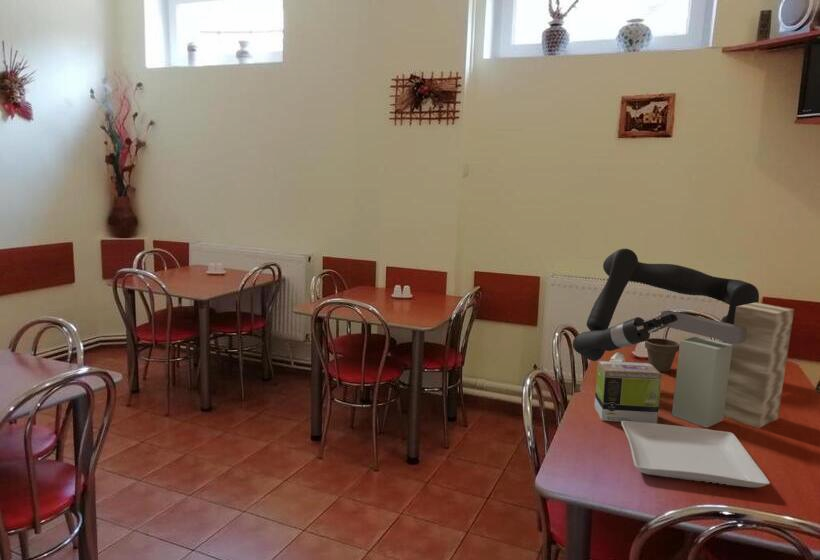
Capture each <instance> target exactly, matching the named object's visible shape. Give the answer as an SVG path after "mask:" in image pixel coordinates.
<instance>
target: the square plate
mask: <svg viewBox="0 0 820 560" xmlns="http://www.w3.org/2000/svg"><path fill="white" fill-rule="evenodd" d="M620 424H621V427H622V429H623V431H624V433H625V436H626V438H627V441H628V444H629V447H630V453H631V457H632V462H633V465H634V467H635V468H636V469H637V471H639V472H640V473H643V474H645V475H649V476H657V477H664V478H670V477H671V478H672V479H678V478H679V479H678V480H687V481H693V480H694V482H695V481H696V482H701V481H705V482H704V483H709V482H712V483H711V484H716V483H719V484H718V485H723V484H726V485H725V486H733V487H734V486H735V487H742V488H744V487H745V488H762V487H766V486H768V485H770V484H771V481H769V479H768V478H767V476H766V475H765V473H764V472H763V471H762V469H761V468H760V467H759V465H758V463H756V462H755V460H754V459H753V457H752V456H751V455H750V454H749V452H748V451H747V450H746V448H745V447H744V446H743V444H742V443H741V442H740V440H739V439H738V438H737V436H736V435H735V434H734V433H733V432H730V431H723V430H715V429H714V430H713V429H708V428H706V429H705V428H699V427H691V426H681V425H674V424H666V423H665V424H663V423H657V424H655V423H644V422H632V421H621V422H620Z"/></svg>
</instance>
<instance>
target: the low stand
mask: <svg viewBox="0 0 820 560" xmlns="http://www.w3.org/2000/svg"><path fill="white" fill-rule="evenodd" d="M679 344H680V346H679V351H678V359H677V367H676V376H675V385H674V392H673V393H674V394H673V399H672V400H673V401H672V410H671V416H672V417H676V418H679V419H681V420H683V421H687V422H689V423H692V424H695V425H698V426H701V427H704V428H706V429H708V428H710V427H712V426H714V425H716V424H718V423H721V422H722V421H724V416H723V415H724V408H725V400H726V393H727V385H728V378H729V371H730V363H731V356H732V348H733V345H732V344H727V343H723V342H719V340H715V339H714V340H713V339H712V338H711V339H710V338H707V337H706V338H705V337H701V336H693V337H689V338H685V339H681V340H680V342H679Z"/></svg>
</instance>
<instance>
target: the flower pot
mask: <svg viewBox="0 0 820 560" xmlns="http://www.w3.org/2000/svg"><path fill="white" fill-rule="evenodd" d="M644 348H646V350H647V351H646V352H647V357H648V358H647V359H648V363H651V365H652V366H653V367H655V368H656V369H657V370H658V371H659V372H662V373H663V372H664V373H665V372H669V371H670V370H671V368H672V366H673V362H674V359H675V357H676V355H677V353H679V349H680V342H677V341H675V340H671V339H666V338H661V337H660V338H658V337H657V338H656V337H655V338H654V337H651V338H650V337H649V339H648V340H647V341H644Z"/></svg>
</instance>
